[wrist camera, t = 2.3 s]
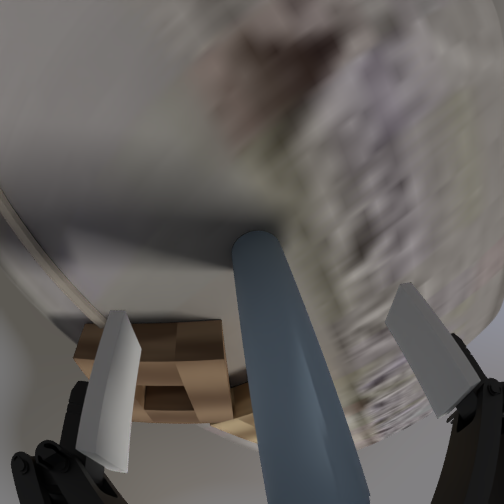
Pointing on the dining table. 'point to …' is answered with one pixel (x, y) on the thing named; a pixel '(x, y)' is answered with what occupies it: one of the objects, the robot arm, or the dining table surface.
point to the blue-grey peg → (291, 385)
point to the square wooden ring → (173, 371)
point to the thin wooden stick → (48, 263)
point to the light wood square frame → (240, 415)
